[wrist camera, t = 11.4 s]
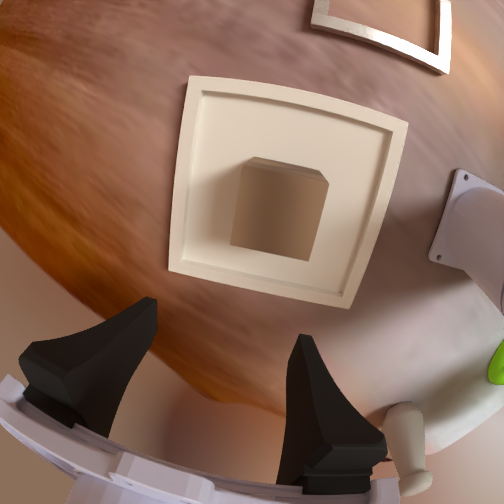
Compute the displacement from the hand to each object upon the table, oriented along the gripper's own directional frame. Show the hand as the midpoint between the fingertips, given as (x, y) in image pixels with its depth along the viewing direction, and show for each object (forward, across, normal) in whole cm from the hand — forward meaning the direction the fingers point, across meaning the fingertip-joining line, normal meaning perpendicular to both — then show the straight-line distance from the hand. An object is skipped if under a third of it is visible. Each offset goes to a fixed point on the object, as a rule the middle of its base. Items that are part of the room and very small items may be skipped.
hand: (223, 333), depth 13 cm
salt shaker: (+10, -24, +18) cm, 31 cm away
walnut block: (+9, -1, -5) cm, 10 cm away
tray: (+10, -1, -5) cm, 11 cm away
